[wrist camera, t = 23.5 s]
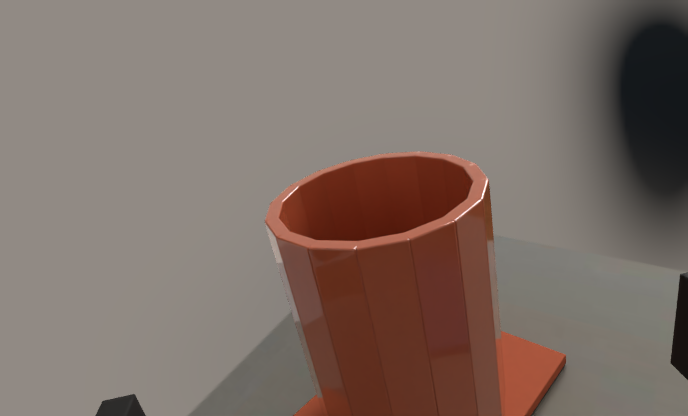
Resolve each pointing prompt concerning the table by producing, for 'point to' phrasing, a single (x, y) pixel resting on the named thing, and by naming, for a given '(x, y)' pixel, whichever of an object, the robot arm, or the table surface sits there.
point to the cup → (394, 285)
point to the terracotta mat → (509, 376)
